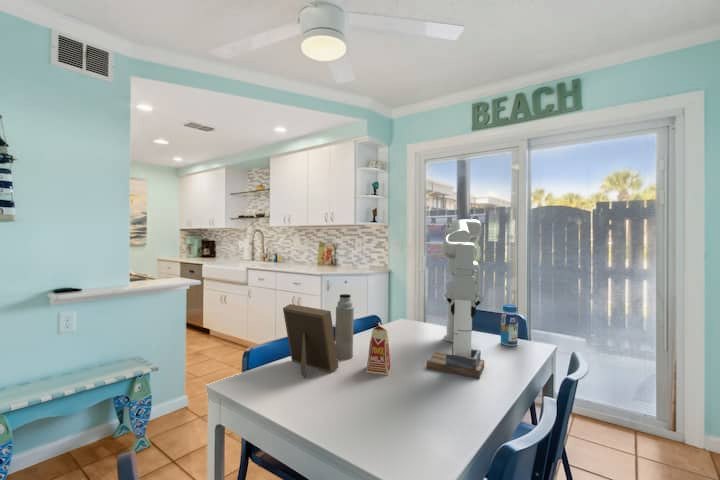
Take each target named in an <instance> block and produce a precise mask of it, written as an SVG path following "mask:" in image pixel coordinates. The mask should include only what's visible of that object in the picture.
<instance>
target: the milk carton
mask: <svg viewBox="0 0 720 480" xmlns="http://www.w3.org/2000/svg"><path fill="white" fill-rule="evenodd" d="M388 336H389V335H388V330H387V328H385V327H384V326H383V325H382V324H381V322H378V323H377V326H375V327H374V328H372V331H371V336H370V340H369V345H368V347H369V348H368V358H367V364H366V370H365V373H367V374H375V375H383V376H389V374H390V371H391V369H392V368H391V367H392V366H391V354H390V345H389V343H390V342H389V337H388Z"/></svg>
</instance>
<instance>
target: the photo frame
mask: <svg viewBox="0 0 720 480" xmlns="http://www.w3.org/2000/svg"><path fill="white" fill-rule="evenodd" d="M282 310H283V311H282V312H283V316H284V317H283V318H284V322H285V323H284V324H285V329H286V334H287V342H288V347H289V352H290V357H291V362H292V363H296V364H299V365H301V366H300V375H301V376H302V378H303V379H305V378H306V373H307V367H309V368H313V369H315V370H316V369H317V370H320V371H323V372H325V373H330V374H332V373H334V372H335V371H336V370H338V368H339V362H338V359H337V354H336V347H335V335H334V334H335V331H334V326H333V325H334V324H333V320H332V311H331V310H325V309H323V308H321V309H320V308H315V307H309V306H303V305H297V304H292V303H290V304H287V305H286V306H284V307H283V308H282Z"/></svg>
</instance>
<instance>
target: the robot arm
mask: <svg viewBox="0 0 720 480" xmlns="http://www.w3.org/2000/svg"><path fill="white" fill-rule="evenodd" d="M482 232H483V227H482V223H481V222H480V220H478V219H457V220H454V221H453V222H452V224H451V226H450V227H448V228H446V229H445V231H444V239H443V241H442V253H443V256H444V258H445V259H448V272H449V276H450V277H451V278H452V279H451V280H450V281H448V282H447V283H446V284H445V293H444V294H443V297H444V298H445V299H446V334H445V335H444V336H443V337H442V339H443V340H444V341H446V342H448V343H452V344H453V343H454V304H455V299H460V300H470V301H471V304H472V309H471V317H472V318H474V317H475V315H477V307H478V306H479V305H480V304H481V303H482V301H484V300H485V297H484V296H483V295H482V294H481V266H480V264H479V262H478V261H475V258H476V256H477V253H478V248H477V246H476V244H477V243H479V241H480V238H481V235H482V234H483V233H482ZM476 300H477V301H476Z"/></svg>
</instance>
